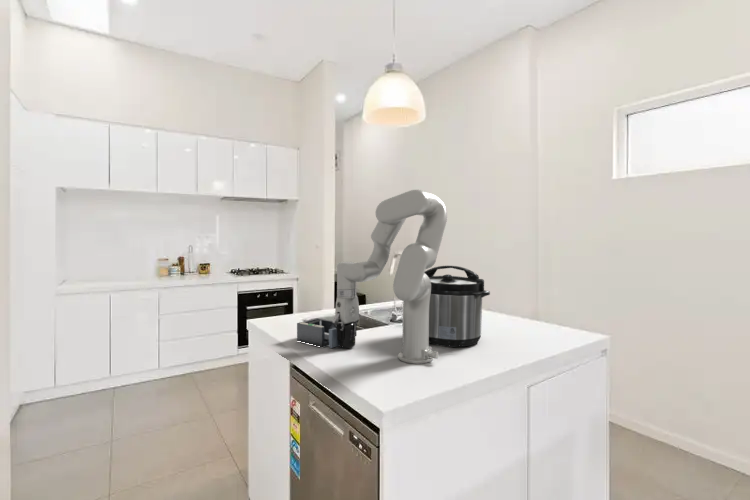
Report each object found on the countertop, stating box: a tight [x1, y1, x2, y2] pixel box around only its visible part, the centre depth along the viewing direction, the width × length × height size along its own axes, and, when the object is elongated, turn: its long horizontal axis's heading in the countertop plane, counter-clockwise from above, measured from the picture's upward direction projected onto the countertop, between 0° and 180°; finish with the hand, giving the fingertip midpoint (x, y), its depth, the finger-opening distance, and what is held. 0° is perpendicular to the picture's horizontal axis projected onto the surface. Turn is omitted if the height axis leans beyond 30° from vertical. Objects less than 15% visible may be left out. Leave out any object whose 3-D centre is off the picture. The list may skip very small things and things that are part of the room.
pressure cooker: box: [424, 265, 491, 348], centre depth 166 cm, size 30×28×32 cm
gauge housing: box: [296, 317, 335, 348], centre depth 162 cm, size 14×12×8 cm
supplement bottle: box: [338, 321, 356, 349], centre depth 154 cm, size 7×7×12 cm
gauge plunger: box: [308, 320, 340, 349], centre depth 159 cm, size 13×12×9 cm
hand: (346, 337), depth 154 cm, fingers closed on supplement bottle, 6 cm apart
